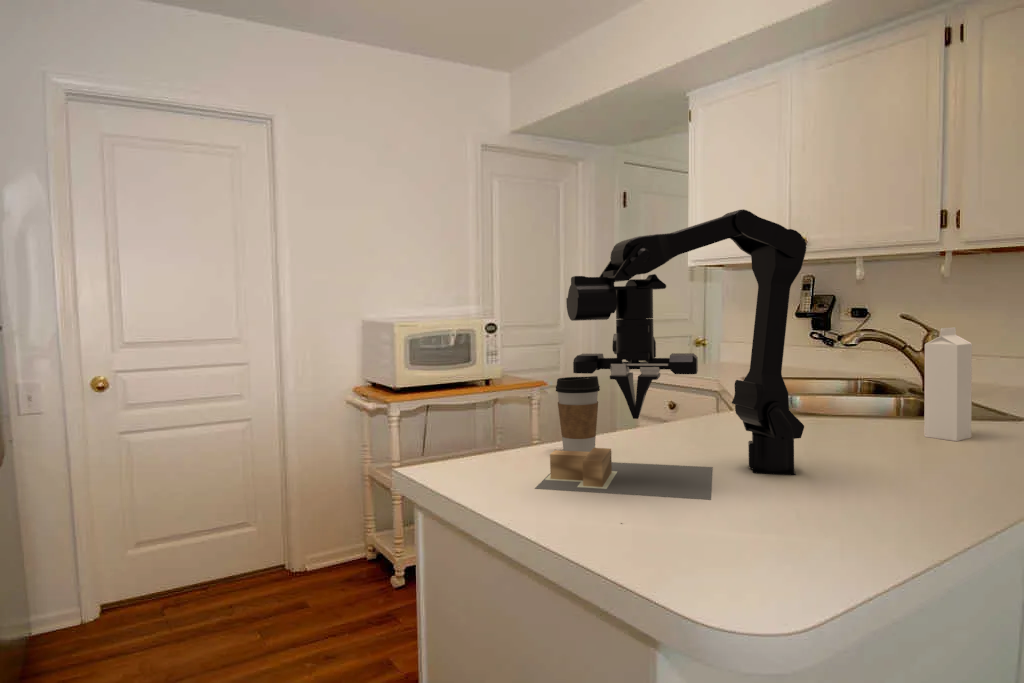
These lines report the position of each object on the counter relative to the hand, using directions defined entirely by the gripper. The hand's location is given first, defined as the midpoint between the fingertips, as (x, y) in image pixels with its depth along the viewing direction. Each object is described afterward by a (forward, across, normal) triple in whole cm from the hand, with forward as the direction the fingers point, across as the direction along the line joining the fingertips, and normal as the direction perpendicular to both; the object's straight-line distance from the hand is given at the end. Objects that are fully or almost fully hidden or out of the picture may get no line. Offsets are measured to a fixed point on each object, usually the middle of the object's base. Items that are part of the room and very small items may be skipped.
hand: (636, 418), depth 100 cm
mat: (+10, +2, -2) cm, 11 cm away
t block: (+10, +9, 0) cm, 14 cm away
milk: (+10, -56, -47) cm, 74 cm away
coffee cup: (+11, +13, -18) cm, 25 cm away
